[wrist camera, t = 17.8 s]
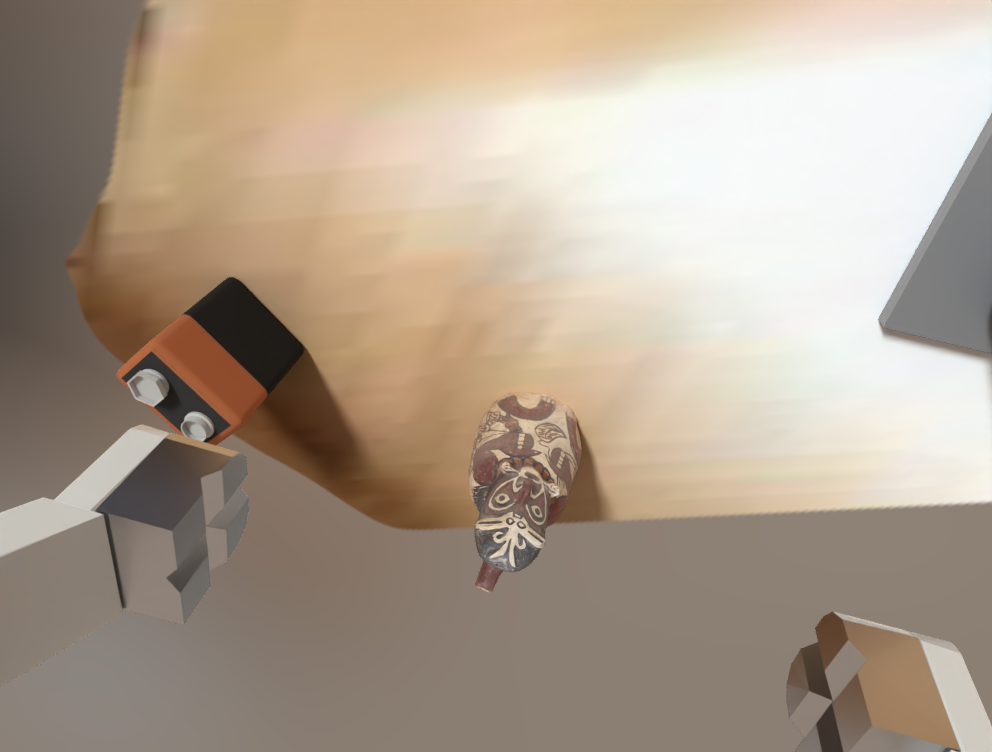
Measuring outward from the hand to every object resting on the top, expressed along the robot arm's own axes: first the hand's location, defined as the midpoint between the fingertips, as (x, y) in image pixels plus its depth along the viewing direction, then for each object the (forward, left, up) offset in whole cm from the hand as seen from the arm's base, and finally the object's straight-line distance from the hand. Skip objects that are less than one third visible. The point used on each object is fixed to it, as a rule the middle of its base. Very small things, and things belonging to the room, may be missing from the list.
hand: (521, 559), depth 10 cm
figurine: (+22, 0, -31) cm, 38 cm away
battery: (+19, -20, -31) cm, 42 cm away
